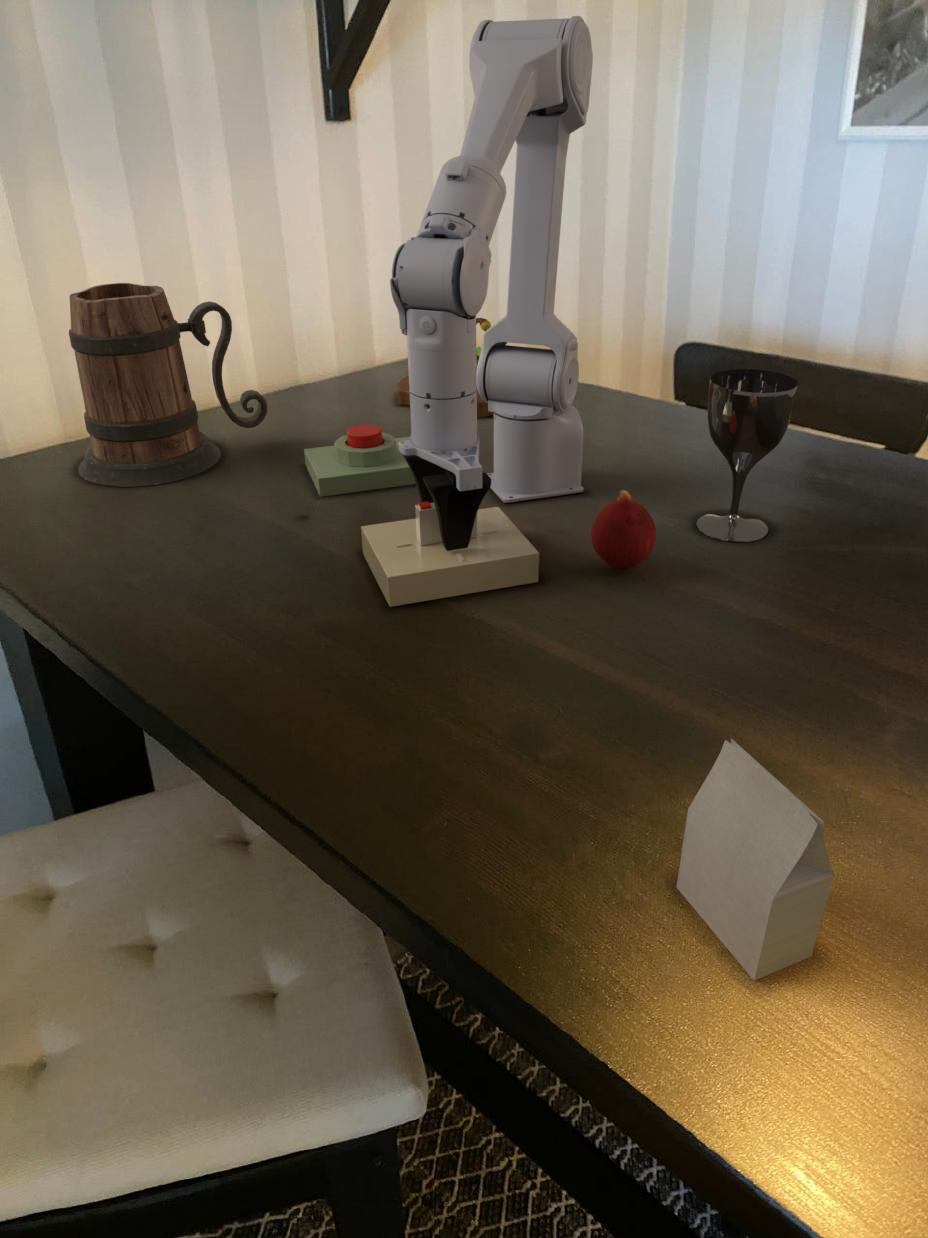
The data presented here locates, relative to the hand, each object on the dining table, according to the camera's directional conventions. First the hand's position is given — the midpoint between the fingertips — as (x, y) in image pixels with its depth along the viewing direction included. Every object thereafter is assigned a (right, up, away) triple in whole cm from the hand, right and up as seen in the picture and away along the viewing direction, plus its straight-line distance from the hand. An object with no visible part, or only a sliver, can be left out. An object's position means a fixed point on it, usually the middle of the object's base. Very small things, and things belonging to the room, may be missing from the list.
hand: (447, 535), depth 83 cm
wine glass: (+29, +1, +9) cm, 30 cm away
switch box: (0, 0, 0) cm, 0 cm away
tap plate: (0, -3, +2) cm, 3 cm away
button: (-10, +12, +21) cm, 26 cm away
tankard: (-34, +12, +29) cm, 46 cm away
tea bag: (+17, -24, -34) cm, 45 cm away
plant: (+3, +25, +49) cm, 54 cm away
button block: (-10, +9, +23) cm, 26 cm away
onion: (+16, -3, +1) cm, 17 cm away
